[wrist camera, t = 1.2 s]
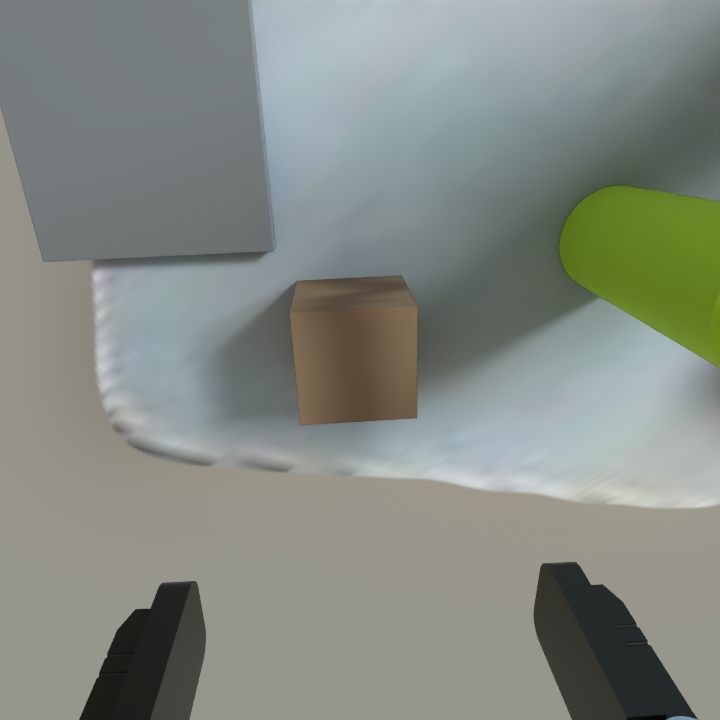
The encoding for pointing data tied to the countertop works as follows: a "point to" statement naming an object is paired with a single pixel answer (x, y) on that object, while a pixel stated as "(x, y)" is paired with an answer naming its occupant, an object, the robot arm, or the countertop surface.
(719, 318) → the soap dispenser
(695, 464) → the countertop surface
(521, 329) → the countertop surface
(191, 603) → the robot arm
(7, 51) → the slate tile
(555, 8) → the countertop surface
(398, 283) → the walnut cube
